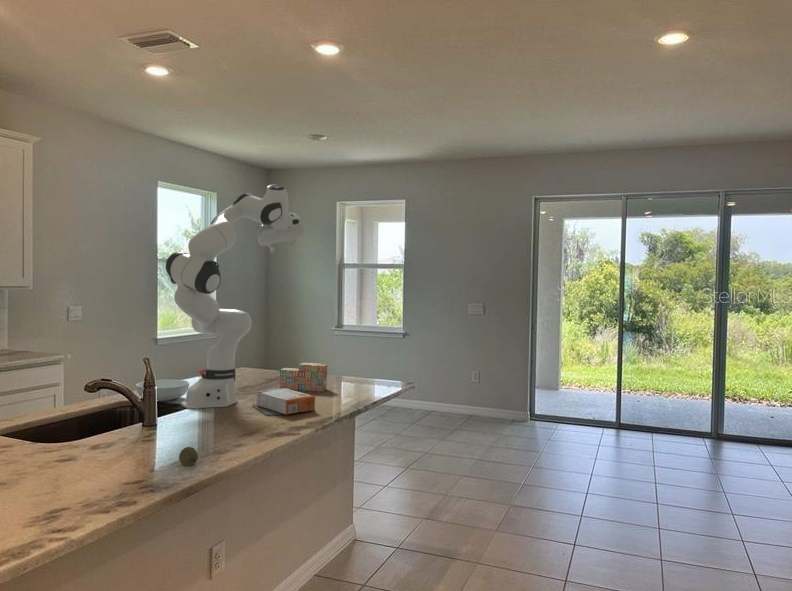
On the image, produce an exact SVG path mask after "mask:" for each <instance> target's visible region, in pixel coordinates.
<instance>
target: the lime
mask: <svg viewBox="0 0 792 591" xmlns="http://www.w3.org/2000/svg"><path fill="white" fill-rule="evenodd" d="M178 459H179V462H180V464H181V465H183V466H185V467H188V466H192V465H194V464H196V463H197V461H198V459H199V455H198V452H197V450H196V449H195V448H194V447H193V446H187V447H185V448H183V449H182V450H180V452H179V455H178Z"/></svg>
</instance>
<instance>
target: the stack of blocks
mask: <svg viewBox="0 0 792 591" xmlns="http://www.w3.org/2000/svg"><path fill="white" fill-rule="evenodd" d="M327 377H328V364H327V363H318V362H301V363H299V364H298V368H294V367H290V368H289V367H283V368H281V369H280V370H279V389H282V388H286V389H295V390H294V391H305V390H309V391H308V392H319V391H323V392H325V391H326V390H327V382H328V378H327ZM325 389H326V390H325ZM324 390H325V391H324Z"/></svg>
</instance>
